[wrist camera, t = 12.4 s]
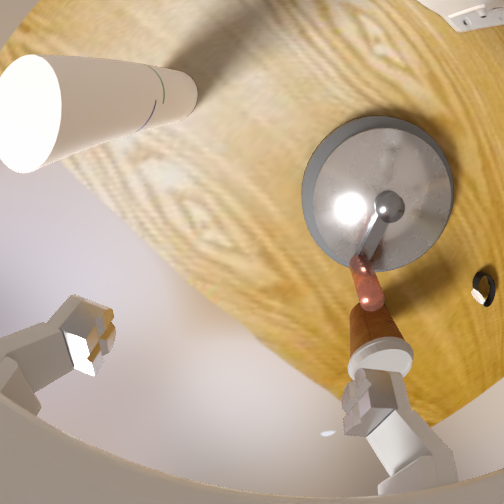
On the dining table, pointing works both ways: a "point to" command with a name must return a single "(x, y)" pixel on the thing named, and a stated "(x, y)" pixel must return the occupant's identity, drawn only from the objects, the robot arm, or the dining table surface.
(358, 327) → the disposable coffee cup
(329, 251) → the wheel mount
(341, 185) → the handwheel
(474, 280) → the watch
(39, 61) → the cylindrical container
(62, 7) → the dining table surface
